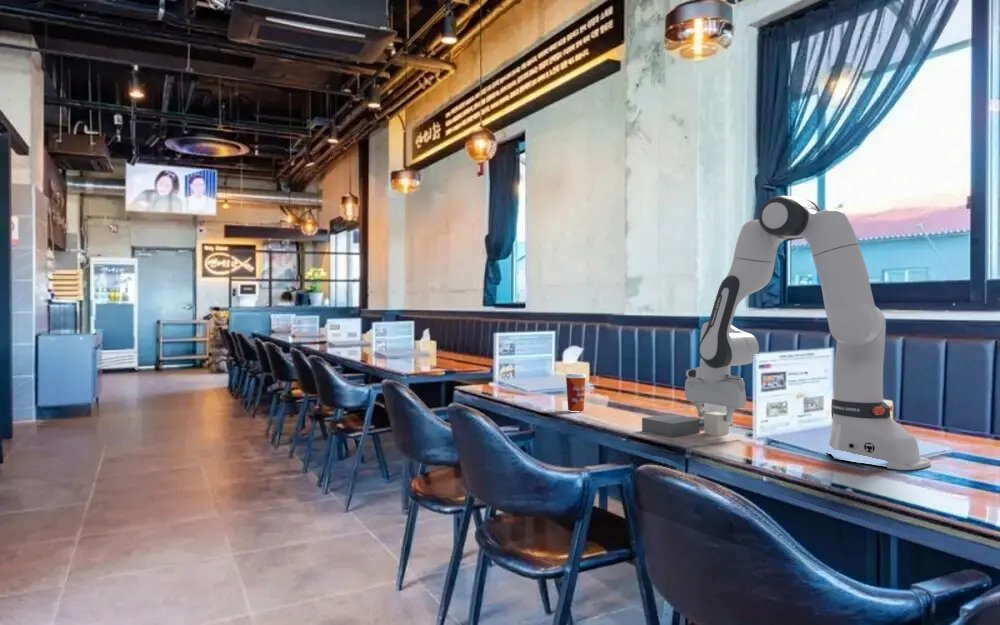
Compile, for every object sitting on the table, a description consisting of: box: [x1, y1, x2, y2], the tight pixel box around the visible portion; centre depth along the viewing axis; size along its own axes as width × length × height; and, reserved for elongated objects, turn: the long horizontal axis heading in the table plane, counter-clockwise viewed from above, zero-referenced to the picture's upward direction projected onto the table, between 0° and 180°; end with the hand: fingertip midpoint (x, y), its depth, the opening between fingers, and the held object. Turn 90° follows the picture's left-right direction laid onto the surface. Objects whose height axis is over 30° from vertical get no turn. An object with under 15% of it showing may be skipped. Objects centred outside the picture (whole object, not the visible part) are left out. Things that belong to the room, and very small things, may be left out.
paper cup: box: [565, 372, 587, 412], centre depth 239 cm, size 8×8×14 cm
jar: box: [703, 403, 734, 426], centre depth 212 cm, size 9×8×12 cm
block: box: [703, 412, 730, 436], centre depth 196 cm, size 5×5×6 cm
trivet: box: [641, 413, 701, 438], centre depth 199 cm, size 12×12×4 cm
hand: (714, 419), depth 197 cm, fingers open, 8 cm apart
